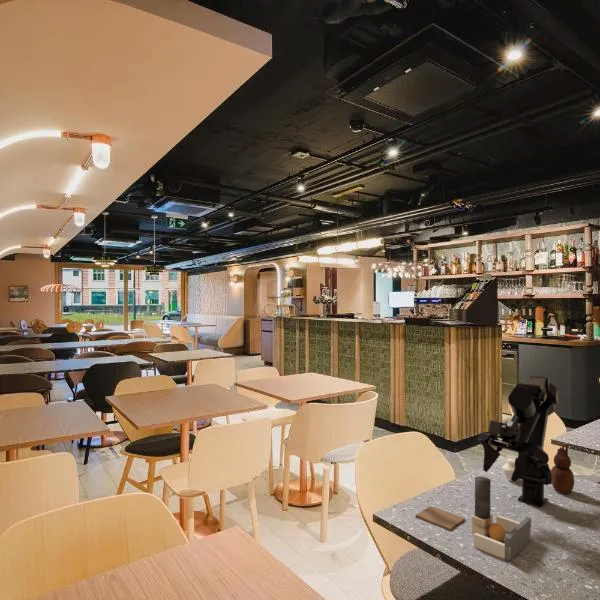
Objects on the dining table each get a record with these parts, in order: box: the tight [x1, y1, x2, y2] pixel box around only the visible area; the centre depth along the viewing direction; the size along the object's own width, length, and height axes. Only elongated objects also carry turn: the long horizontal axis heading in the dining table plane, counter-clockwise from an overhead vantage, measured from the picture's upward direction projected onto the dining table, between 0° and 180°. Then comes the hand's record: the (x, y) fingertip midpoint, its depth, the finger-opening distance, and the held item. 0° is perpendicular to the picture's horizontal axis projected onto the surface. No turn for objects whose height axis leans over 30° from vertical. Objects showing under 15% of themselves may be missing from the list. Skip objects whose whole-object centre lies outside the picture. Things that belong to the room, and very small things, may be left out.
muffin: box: [502, 458, 520, 483], centre depth 144 cm, size 6×6×7 cm
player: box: [471, 476, 494, 537], centre depth 109 cm, size 5×4×13 cm
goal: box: [473, 514, 532, 562], centre depth 106 cm, size 14×8×5 cm, turn 134°
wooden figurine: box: [550, 444, 575, 495], centre depth 136 cm, size 7×6×15 cm
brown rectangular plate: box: [415, 505, 466, 531], centre depth 117 cm, size 8×10×1 cm
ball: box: [488, 522, 507, 542], centre depth 107 cm, size 4×4×4 cm
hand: (498, 475), depth 115 cm, fingers open, 9 cm apart
